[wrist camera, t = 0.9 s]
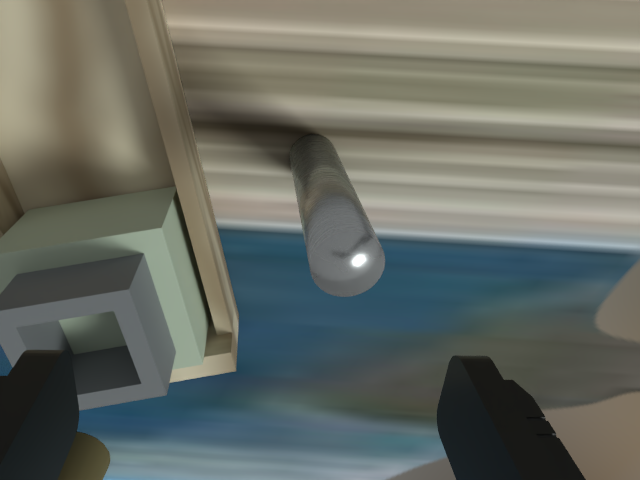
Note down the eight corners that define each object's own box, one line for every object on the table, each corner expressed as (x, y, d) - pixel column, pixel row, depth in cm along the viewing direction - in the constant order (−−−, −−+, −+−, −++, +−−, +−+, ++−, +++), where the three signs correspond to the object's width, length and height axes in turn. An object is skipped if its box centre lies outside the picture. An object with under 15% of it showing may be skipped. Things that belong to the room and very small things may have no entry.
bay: (109, -210, 24) (67, -266, 18) (238, 315, 37) (235, 371, 32) (-156, -176, 23) (-278, -223, 18) (74, 343, 37) (43, 404, 32)
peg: (333, 130, 32) (382, 224, 20) (338, 175, 33) (387, 289, 21) (286, 138, 32) (305, 237, 20) (293, 183, 33) (315, 302, 21)
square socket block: (177, 185, 31) (148, 261, 23) (210, 306, 35) (196, 408, 27) (28, 209, 31) (-57, 295, 22) (79, 328, 35) (23, 439, 27)
